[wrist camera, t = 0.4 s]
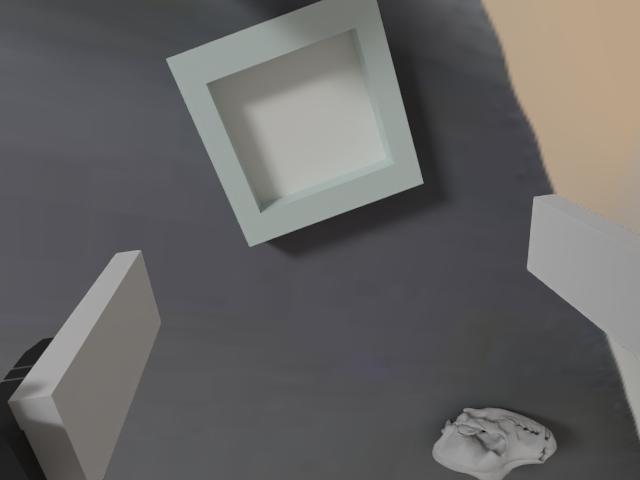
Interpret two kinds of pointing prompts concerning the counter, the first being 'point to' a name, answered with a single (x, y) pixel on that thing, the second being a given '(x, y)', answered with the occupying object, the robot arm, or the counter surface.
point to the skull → (492, 443)
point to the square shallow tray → (301, 116)
